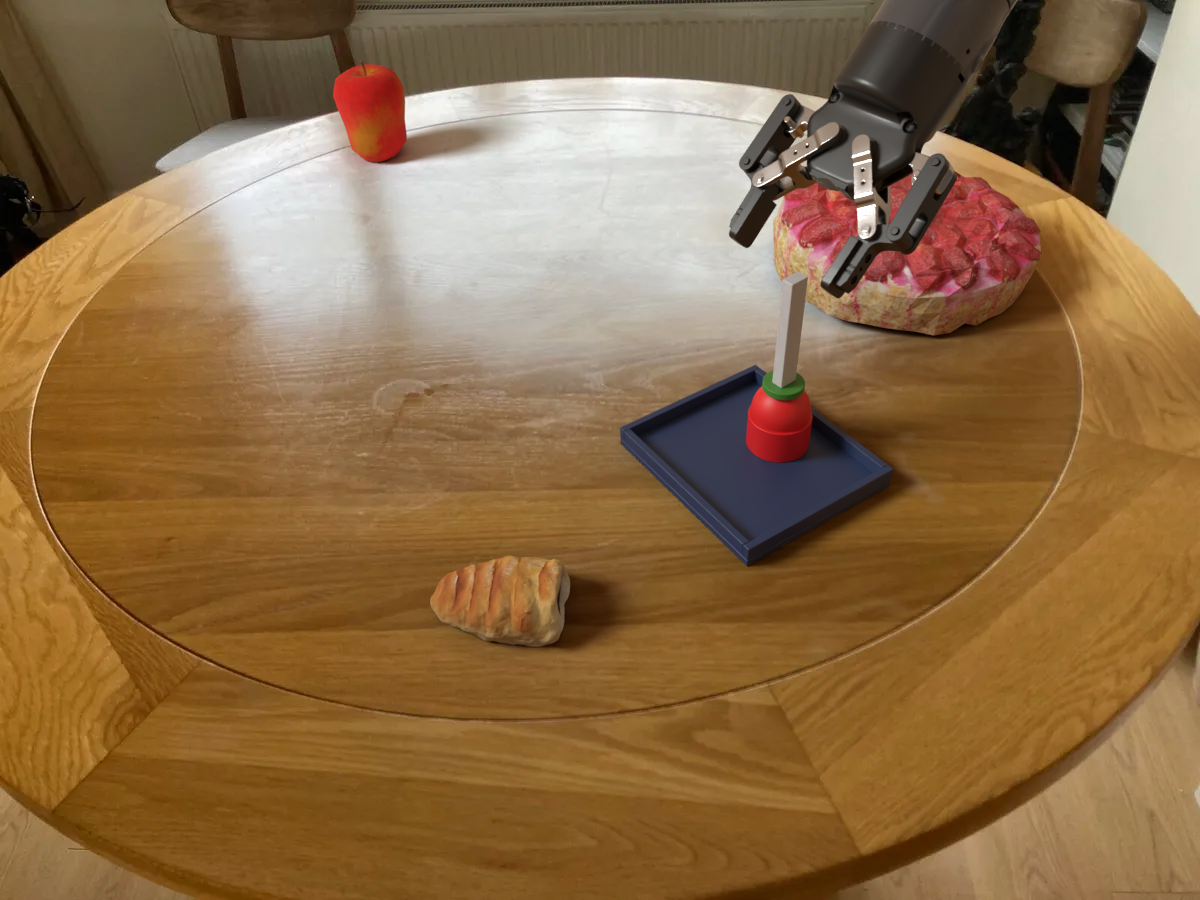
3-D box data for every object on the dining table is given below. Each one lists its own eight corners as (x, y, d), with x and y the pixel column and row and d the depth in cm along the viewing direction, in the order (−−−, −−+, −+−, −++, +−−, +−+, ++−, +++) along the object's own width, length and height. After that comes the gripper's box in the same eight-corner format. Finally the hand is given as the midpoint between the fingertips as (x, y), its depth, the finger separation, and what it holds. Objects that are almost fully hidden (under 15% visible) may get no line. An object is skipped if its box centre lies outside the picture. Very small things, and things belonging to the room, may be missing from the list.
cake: (727, 223, 102) (736, 154, 97) (931, 189, 108) (951, 122, 102) (838, 367, 86) (856, 294, 80) (1071, 318, 92) (1104, 246, 86)
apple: (418, 164, 119) (400, 68, 111) (349, 173, 117) (326, 77, 109) (411, 135, 125) (395, 42, 117) (346, 144, 124) (325, 51, 116)
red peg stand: (821, 444, 77) (847, 279, 67) (777, 472, 75) (796, 306, 64) (776, 413, 80) (793, 251, 70) (733, 439, 78) (744, 276, 67)
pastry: (426, 648, 64) (416, 612, 62) (444, 572, 69) (436, 536, 67) (564, 652, 64) (561, 616, 61) (573, 574, 69) (569, 538, 66)
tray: (890, 485, 74) (893, 468, 73) (746, 566, 69) (748, 550, 67) (754, 380, 84) (755, 364, 83) (620, 443, 79) (619, 427, 78)
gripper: (814, -7, 64) (683, 207, 67) (999, 49, 55) (840, 291, 58) (856, 53, 70) (734, 247, 73) (1029, 112, 61) (884, 329, 64)
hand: (781, 266), depth 65 cm, fingers open, 8 cm apart
